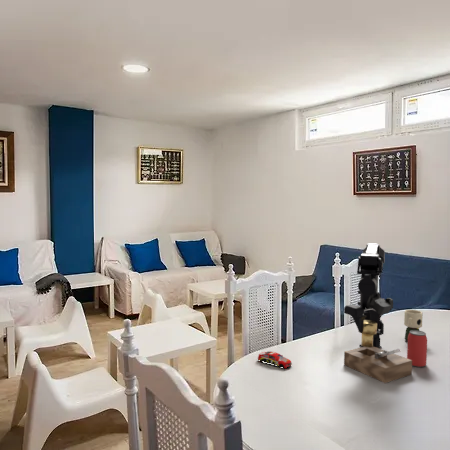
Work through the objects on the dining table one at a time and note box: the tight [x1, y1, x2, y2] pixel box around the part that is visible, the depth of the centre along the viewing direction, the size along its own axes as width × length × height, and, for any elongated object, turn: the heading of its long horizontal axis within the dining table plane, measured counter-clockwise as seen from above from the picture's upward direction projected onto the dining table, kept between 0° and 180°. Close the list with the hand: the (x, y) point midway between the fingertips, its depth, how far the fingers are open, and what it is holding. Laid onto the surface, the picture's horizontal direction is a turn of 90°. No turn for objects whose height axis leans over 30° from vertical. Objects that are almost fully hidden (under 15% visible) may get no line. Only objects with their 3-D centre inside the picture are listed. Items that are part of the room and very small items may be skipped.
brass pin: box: [357, 320, 377, 347], centre depth 156 cm, size 6×6×8 cm
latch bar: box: [378, 348, 401, 358], centre depth 149 cm, size 8×3×2 cm, turn 31°
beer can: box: [406, 330, 428, 368], centre depth 159 cm, size 7×7×12 cm
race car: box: [257, 350, 292, 369], centre depth 158 cm, size 13×5×4 cm, turn 51°
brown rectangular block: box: [343, 346, 413, 384], centre depth 153 cm, size 18×14×7 cm
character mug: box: [403, 309, 423, 341], centre depth 185 cm, size 11×7×13 cm, turn 140°
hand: (367, 331), depth 156 cm, fingers closed on brass pin, 6 cm apart
